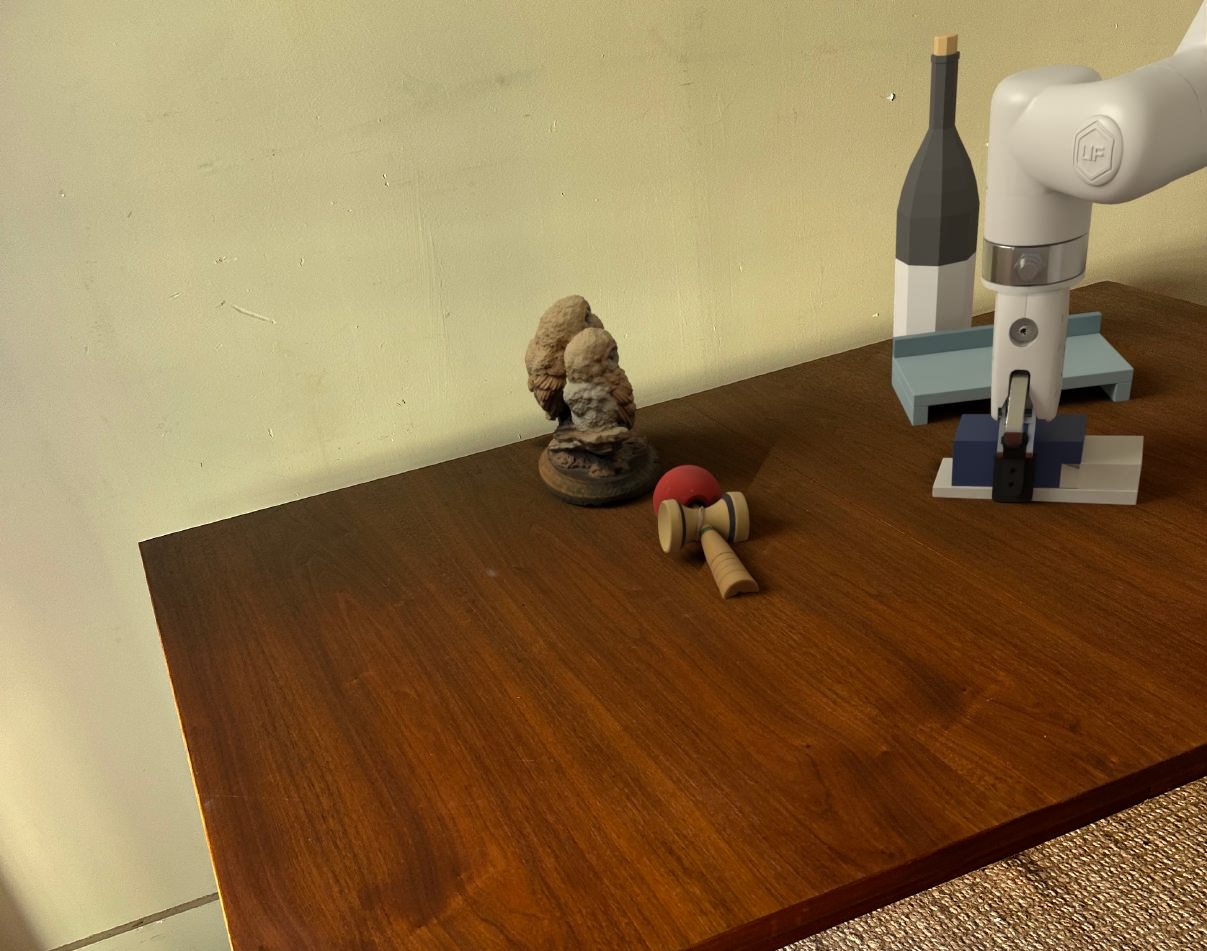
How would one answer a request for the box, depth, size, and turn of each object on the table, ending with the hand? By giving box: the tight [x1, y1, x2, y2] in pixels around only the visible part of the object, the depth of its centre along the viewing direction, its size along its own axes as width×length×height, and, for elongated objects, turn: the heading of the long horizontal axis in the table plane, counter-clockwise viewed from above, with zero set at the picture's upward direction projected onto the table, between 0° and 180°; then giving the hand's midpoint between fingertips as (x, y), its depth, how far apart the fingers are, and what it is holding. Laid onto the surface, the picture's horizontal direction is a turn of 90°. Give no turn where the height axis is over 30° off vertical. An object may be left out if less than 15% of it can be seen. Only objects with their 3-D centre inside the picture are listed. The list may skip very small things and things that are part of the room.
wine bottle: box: [892, 32, 981, 338], centre depth 120 cm, size 8×8×30 cm
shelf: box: [891, 310, 1135, 426], centre depth 116 cm, size 20×11×6 cm, turn 90°
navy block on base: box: [932, 413, 1145, 506], centre depth 100 cm, size 16×6×6 cm, turn 70°
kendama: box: [652, 464, 760, 600], centre depth 99 cm, size 8×6×18 cm
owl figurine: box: [524, 294, 662, 507], centre depth 112 cm, size 18×12×17 cm, turn 14°
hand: (1016, 480), depth 101 cm, fingers closed on navy block on base, 6 cm apart
